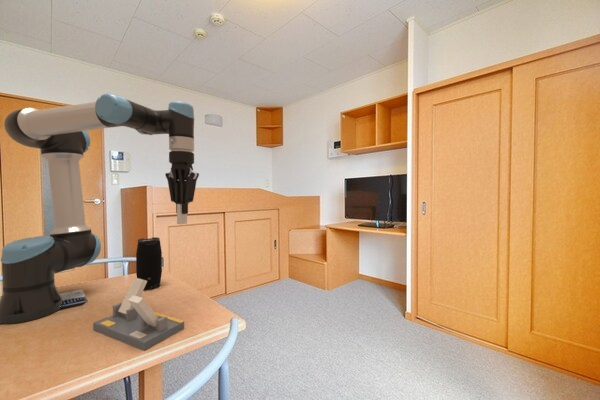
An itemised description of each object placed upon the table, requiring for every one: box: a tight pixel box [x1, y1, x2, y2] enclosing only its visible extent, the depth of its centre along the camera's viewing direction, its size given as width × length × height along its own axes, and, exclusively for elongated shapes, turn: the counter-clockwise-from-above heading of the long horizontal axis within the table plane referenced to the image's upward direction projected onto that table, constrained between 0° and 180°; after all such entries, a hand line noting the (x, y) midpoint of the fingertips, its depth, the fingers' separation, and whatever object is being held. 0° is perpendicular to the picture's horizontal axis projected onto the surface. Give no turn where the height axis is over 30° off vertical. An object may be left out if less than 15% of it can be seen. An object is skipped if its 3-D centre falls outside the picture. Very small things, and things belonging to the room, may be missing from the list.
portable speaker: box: [135, 236, 163, 290], centre depth 110 cm, size 9×9×20 cm
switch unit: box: [92, 302, 185, 351], centre depth 77 cm, size 22×12×5 cm, turn 64°
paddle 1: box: [118, 277, 147, 316], centre depth 82 cm, size 5×2×10 cm
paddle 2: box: [128, 295, 159, 327], centre depth 72 cm, size 5×2×10 cm
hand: (182, 223), depth 90 cm, fingers closed
